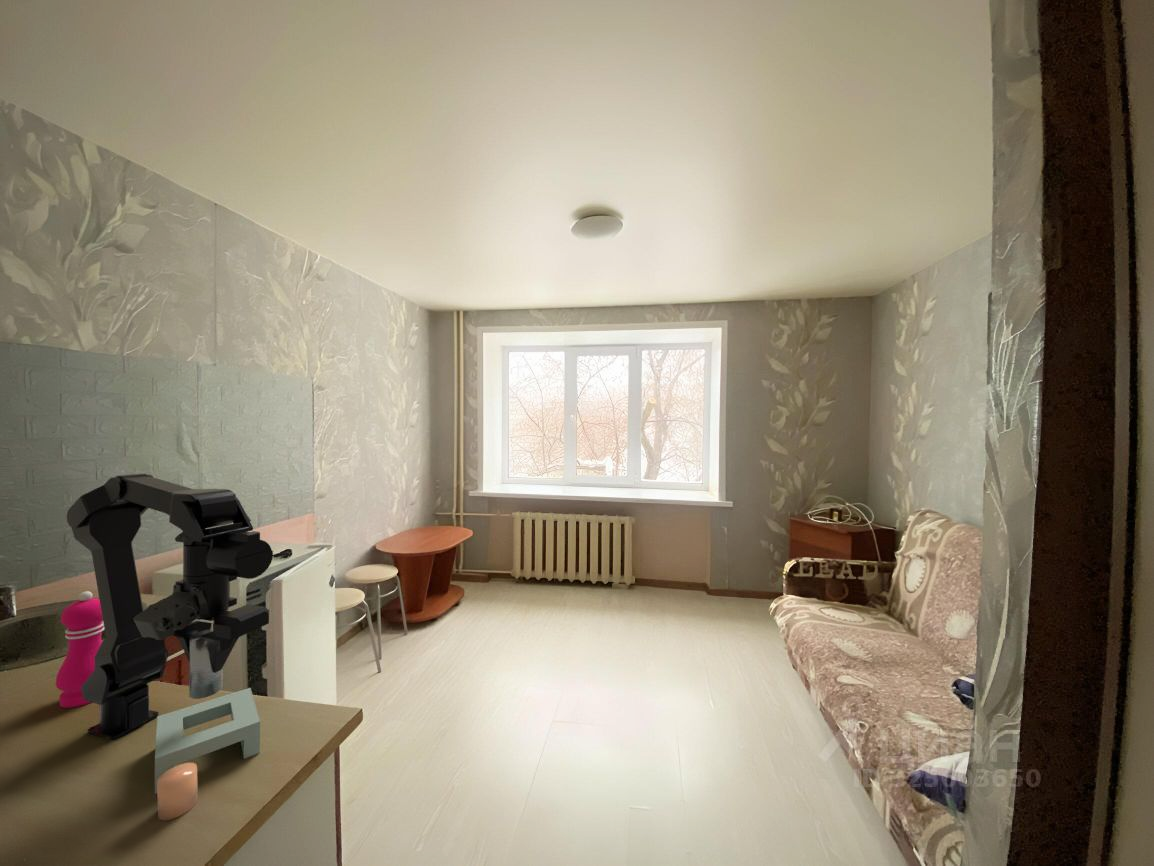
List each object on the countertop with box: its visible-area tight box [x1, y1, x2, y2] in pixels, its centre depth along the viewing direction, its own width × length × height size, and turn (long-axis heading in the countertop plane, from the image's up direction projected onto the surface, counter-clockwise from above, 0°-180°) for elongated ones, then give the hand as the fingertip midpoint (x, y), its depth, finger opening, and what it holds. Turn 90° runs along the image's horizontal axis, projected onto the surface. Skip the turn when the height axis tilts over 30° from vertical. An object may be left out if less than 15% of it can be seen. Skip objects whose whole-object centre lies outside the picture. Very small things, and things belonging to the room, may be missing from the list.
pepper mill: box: [55, 590, 105, 709], centre depth 83 cm, size 7×7×20 cm
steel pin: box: [188, 628, 224, 700], centre depth 70 cm, size 4×4×9 cm
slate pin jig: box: [154, 687, 261, 795], centre depth 70 cm, size 12×12×5 cm
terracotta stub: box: [156, 762, 199, 821], centre depth 60 cm, size 4×4×4 cm
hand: (206, 669), depth 70 cm, fingers closed on steel pin, 4 cm apart
